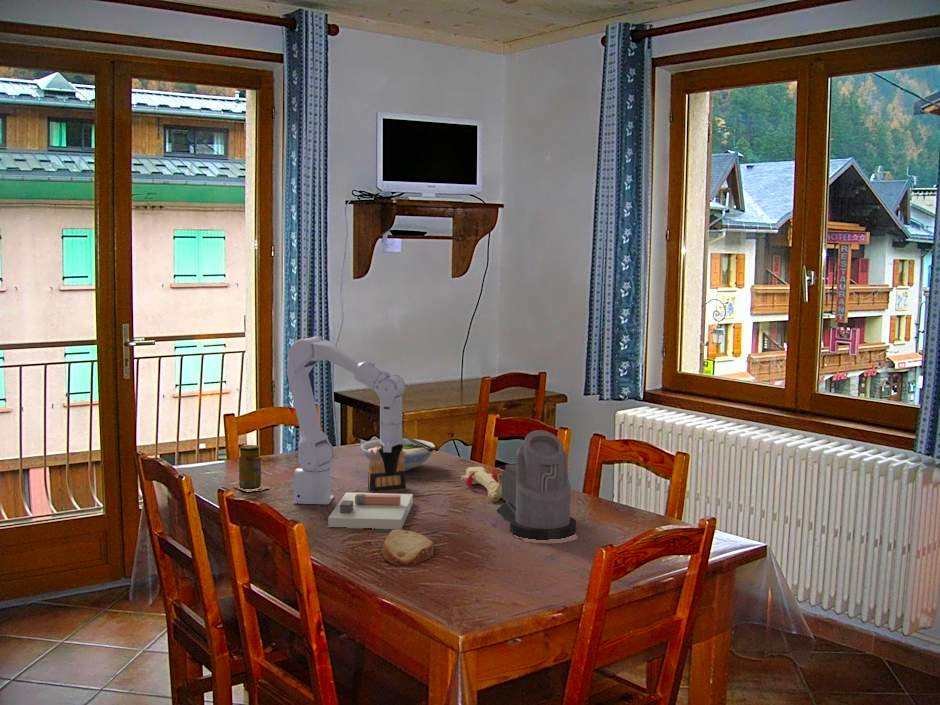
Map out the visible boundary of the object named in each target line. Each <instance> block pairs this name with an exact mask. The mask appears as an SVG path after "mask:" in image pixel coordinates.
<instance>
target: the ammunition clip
mask: <svg viewBox="0 0 940 705" xmlns="http://www.w3.org/2000/svg"><path fill="white" fill-rule="evenodd" d="M368 462H369V463H368V476H367V478H368V479H367V480H368V481H367V491H368V490H369V491H368V492H370V491H375V492H380V491H379V490H385V491H393V489H394V490H404V489H406V471H404V453H403V448H402V450H401V452H400V455H399V470H398V465H397V470H396V473H395V474H394V475H386V472H385V467H384V463H383V459H382V458H381V463H380V453H379V449H378V448H377V451H376V459H375V463H374V453H373V450H372V449H371V451H370V461H369V460H368Z"/></svg>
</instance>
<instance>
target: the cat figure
mask: <svg viewBox="0 0 940 705" xmlns="http://www.w3.org/2000/svg"><path fill="white" fill-rule="evenodd" d="M489 471H490V472H491V473H487V470H486V469H485V468H484V467H483V466H473V467H472V466H471V467H470V466H469V467H467V468H466V469H465V471H464V472H465V475H461V477H460V480H461V481H463V482H464V483H465V484H466V486H467V487H468V489H470V490H471V491H475V488H474V489H473V486H472V485H477V484H479V485H481V486H484V488H486V491H487V497H488V498H489V501H490V502H491V503H493V502H496V503H498V502H499V500H501V499H502V501H504V502H505V501H507V500H506V498H505V497H504V496H502V472H501V473H496V471H494V470H492V469H489Z"/></svg>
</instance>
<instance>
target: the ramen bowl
mask: <svg viewBox="0 0 940 705" xmlns="http://www.w3.org/2000/svg"><path fill="white" fill-rule="evenodd" d="M402 438H403V439H407V442H406V443H401V444H402V445H403V453H404V471H405V472H409V471H410V470H411V469H414V468H417V467H419V466H421V465H423V464H424V463H425V462H427V460H428V459H429V458H430V457H431V455H432V453H433V452H439V449H438V448H436V445H435V444H434V443H433V442H430V441H426V440H424V439H423V440H422V439H416V438H411V437H409V436H405V435H402ZM381 446H382V444H381V443H380V442H379V439H374V440H373V439H372V440H370V441H367V442H363V443H362V444H361V445H360V448H361V450H362V453H364V456H365V457H366V458H367V460H368V462H369V461H370V451H371V449H372V450H373V453H374V463H375V459H376V451H377V448H378V449H379V448H381ZM381 458H382V457H381V455H380V463H381ZM398 470H399V459H398Z"/></svg>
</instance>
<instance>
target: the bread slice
mask: <svg viewBox="0 0 940 705" xmlns="http://www.w3.org/2000/svg"><path fill="white" fill-rule="evenodd" d="M433 550H435V549H434V541H433V540H431V539H429V538H428V537H427V536H425V535H424V534H420V533H418V532H415V531H410V530H404V529H392V530H391V531H390V532H389V533H388V534H387V536H386V538H385V540H384V542H383V545H382V549H381V554H382V556H383V558H384V560H386V561H387V562H388V563H390V564H392V565H393V566H397V567H412V565H413V566H416V565H417V564H418V565H419V564H420V562H421V563H423V562H426V561H428V560H430V559H431V558H432V557H433V555H434V551H433ZM431 556H432V557H431ZM430 557H431V558H430ZM429 558H430V559H429ZM427 559H428V560H427ZM425 560H426V561H425ZM422 561H423V562H422Z"/></svg>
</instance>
